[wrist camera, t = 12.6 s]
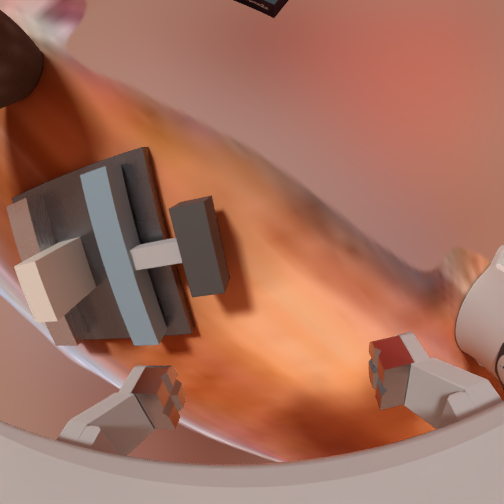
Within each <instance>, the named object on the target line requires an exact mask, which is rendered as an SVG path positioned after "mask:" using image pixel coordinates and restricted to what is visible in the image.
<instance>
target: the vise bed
mask: <svg viewBox="0 0 504 504" xmlns="http://www.w3.org/2000/svg"><path fill="white" fill-rule="evenodd" d="M117 164H121V168H122V173H123V177H124V182H125V186H126V191H127V195H128V199H129V203H130V207H131V211H132V215H133V219H134V223H135V227H136V231H137V234H138V238H139V242H140V244H145V243H150V242H155V241H160V240H166V239H169V236H168V232H167V228H166V224H165V220H164V216H163V212H162V208H161V204H160V199H159V195H158V191H157V186H156V182H155V177H154V172H153V168H152V163H151V158H150V153H149V148H148V147H141V148H138V149H135V150H132V151H128V152H125V153H122V154H119V155H116V156H113V157H110V158H108V159H105V160H102V161H99V162H96V163H94V164H91V165H88V166H86V167H83V168H80V169H78V170H75V171H73V172H70V173H68V174H65V175H63V176H60V177H58V178H55V179H53V180H51V181H48V182H46V183H44V184H42V185H39V186H37V187H35V188H33V189H31V190H28V191H26V192H24V193H22V194H20V195H18V196H16V197H14V198H12V200H13V204H11V205H9V206H7V211H8V216H9V220H10V224H11V227H12V231H13V235H14V238H15V242H16V245H17V248H18V252H19V255H20V258H21V261H22V262H23V261H25V260H27V259H29V258H30V257H32V256H34V255H36V254H38V253H40V252H41V251H43V250H45V249H47V248H49V247H51V246H53V245H55V244H57V243H59V242H62V241H66V240H70V239H74V238H77V237H80V238H81V242H82V245H83V248H84V252H85V255H86V258H87V261H88V264H89V267H90V270H91V273H92V276H93V279H94V282H95V285H96V288H95V289H94V290H92V291H91V292H90V293H89V294H88V295H87V296H85V297H84V298H83V299H82V300H81V301H80V302H79V303H78V304H76V305H75V306H74V307H73V308H72V309H71V310H70V311H69V312H68V313H66V314H65V315H64V316H63V317H62V318H61V319H60V320H59V321H54V322H45V323H46V325H47V327H48V329H49V332H50V334H51V336H52V338H53V340H54V342H55V344H56V345H72V346H78V345H79V343H80V342H81V341H82V340H87V339H118V338H131V337H130V335H129V332H128V330H127V327H126V325H125V322H124V320H123V317H122V315H121V312H120V310H119V307H118V304H117V302H116V299H115V296H114V293H113V290H112V288H111V285H110V282H109V279H108V276H107V273H106V270H105V267H104V264H103V261H102V258H101V254H100V251H99V248H98V244H97V241H96V238H95V234H94V230H93V227H92V223H91V219H90V216H89V212H88V208H87V204H86V200H85V195H84V191H83V187H82V182H81V177H80V175H82V174H85V173H87V172H90V171H93V170H96V169H98V168H101V167H104V166H110V165H117ZM147 269H148V273H149V276H150V279H151V282H152V285H153V289H154V292H155V295H156V298H157V301H158V304H159V307H160V310H161V313H162V315H163V318H164V321H165V324H166V327H167V331H166V333H165V334H164V336H168V335H181V334H192V331H193V329H194V327H195V326H194V323H193V320H192V317H191V314H190V310H189V307H188V304H187V301H186V297H185V294H184V290H183V287H182V284H181V280H180V277H179V273H178V269H177V266H176V264H172V265H166V266H160V267H154V268H147Z"/></svg>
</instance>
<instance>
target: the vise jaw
mask: <svg viewBox="0 0 504 504" xmlns="http://www.w3.org/2000/svg"><path fill="white" fill-rule="evenodd" d="M80 177H81V182H82V187H83V191H84V195H85V200H86V204H87V208H88V212H89V216H90V219H91V223H92V227H93V230H94V234H95V238H96V241H97V244H98V248H99V251H100V254H101V258H102V261H103V264H104V267H105V270H106V273H107V276H108V279H109V282H110V285H111V288H112V290H113V293H114V296H115V299H116V302H117V304H118V307H119V310H120V312H121V315H122V317H123V320H124V322H125V325H126V327H127V330H128V332H129V335H130V337H131V339H132V342H133V344H134V346H141V345H159V343H160V342H161V340H162V338H163V336H164V334H165V333H166V331H167V327H166V324H165V321H164V318H163V315H162V313H161V310H160V307H159V304H158V301H157V298H156V295H155V292H154V289H153V285H152V282H151V279H150V276H149V273H148V269H147V268H154V267H160V266H166V265H172V264H178V263H183V267H184V270H185V274H186V277H187V281H188V285H189V288H190V292H191V295H192V297H198V296H206V295H213V294H221V293H225V291H226V288H227V285H228V282H229V279H230V276H229V272H228V268H227V263H226V259H225V254H224V250H223V245H222V241H221V237H220V232H219V227H218V223H217V218H216V214H215V209H214V204H213V200H212V196H208V197H203V198H198V199H193V200H189V201H184V202H180V203H178V204H177V205H175V206H173V207H171V208H170V209H169V212H170V216H171V220H172V224H173V228H174V232H175V236H176V238H171V239H166V240H160V241H155V242H150V243H145V244H140V242H139V238H138V234H137V231H136V227H135V223H134V219H133V215H132V211H131V207H130V203H129V199H128V195H127V191H126V186H125V182H124V177H123V173H122V168H121V164H117V165H110V166H104V167H101V168H98V169H96V170H93V171H90V172H87V173H85V174H82V175H80Z"/></svg>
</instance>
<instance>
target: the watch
mask: <svg viewBox="0 0 504 504" xmlns="http://www.w3.org/2000/svg"><path fill="white" fill-rule="evenodd" d="M234 1H237V2H239V3H242V4H244V5H247V6H249V7H251V8H253V9H256V10H258V11H260V12H262V13H265V14H267V15H269V16H271V17H273V18H274V17H275V16H276V15H277V14H278V12H279V11H280V10H281V9H282V7H283V6H284V5H285V4H286V3H287V1H288V0H234Z"/></svg>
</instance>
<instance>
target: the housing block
mask: <svg viewBox="0 0 504 504" xmlns="http://www.w3.org/2000/svg"><path fill="white" fill-rule="evenodd" d="M14 268H15V271H16V273H17V276H18V279H19V282H20V285H21V287H22V290H23V292H24V295H25V297H26V300H27V302H28V305H29V307H30V310H31V312H32V314H33V317H34V319H35V321H36V322H54V321H59V320H60V319H61V318H62V317H63V316H64V315H65V314H66V313H68V312H69V311H70V310H71V309H72V308H73V307H74V306H75V305H76V304H78V303H79V302H80V301H81V300H82V299H83V298H84V297H85V296H87V295H88V294H89V293H90V292H91V291H92V290H94V289H95V288H96V285H95V282H94V279H93V276H92V273H91V270H90V267H89V264H88V261H87V258H86V255H85V252H84V248H83V245H82V242H81V238H80V237H77V238H74V239H70V240H66V241H62V242H59V243H57V244H55V245H53V246H51V247H49V248H47V249H45V250H43V251H41V252H40V253H38V254H36V255H34V256H32V257H30V258H29V259H27V260H25V261H23V262H21V263H20V264H18V265H16V266H14Z"/></svg>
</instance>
